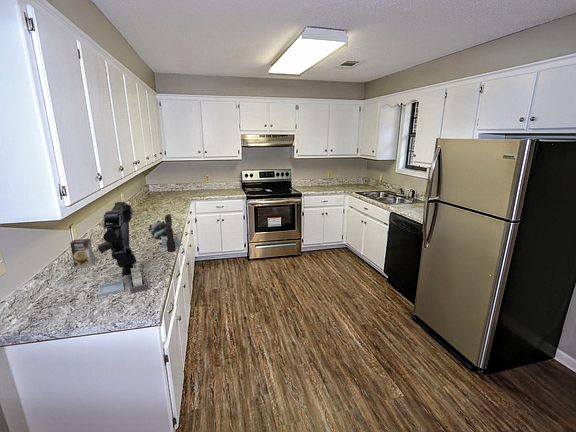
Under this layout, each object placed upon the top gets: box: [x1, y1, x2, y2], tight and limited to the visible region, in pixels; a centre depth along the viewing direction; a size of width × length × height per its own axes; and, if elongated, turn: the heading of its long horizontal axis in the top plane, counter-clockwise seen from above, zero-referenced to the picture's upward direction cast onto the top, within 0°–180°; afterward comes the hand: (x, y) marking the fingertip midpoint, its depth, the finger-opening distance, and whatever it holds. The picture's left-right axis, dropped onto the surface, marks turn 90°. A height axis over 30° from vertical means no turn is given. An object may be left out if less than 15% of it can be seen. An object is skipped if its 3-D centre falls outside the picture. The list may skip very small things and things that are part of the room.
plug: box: [132, 272, 143, 287], centre depth 156 cm, size 4×4×7 cm
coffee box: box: [69, 238, 95, 269], centre depth 184 cm, size 9×6×16 cm
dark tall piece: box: [158, 213, 184, 253], centre depth 217 cm, size 16×21×33 cm
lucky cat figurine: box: [147, 220, 166, 240], centre depth 239 cm, size 15×12×14 cm
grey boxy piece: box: [127, 266, 148, 294], centre depth 160 cm, size 16×8×8 cm, turn 31°
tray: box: [97, 279, 125, 298], centre depth 156 cm, size 11×11×2 cm
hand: (120, 264), depth 159 cm, fingers open, 9 cm apart
